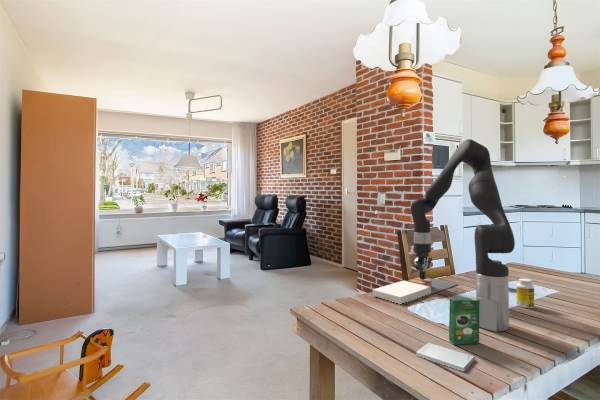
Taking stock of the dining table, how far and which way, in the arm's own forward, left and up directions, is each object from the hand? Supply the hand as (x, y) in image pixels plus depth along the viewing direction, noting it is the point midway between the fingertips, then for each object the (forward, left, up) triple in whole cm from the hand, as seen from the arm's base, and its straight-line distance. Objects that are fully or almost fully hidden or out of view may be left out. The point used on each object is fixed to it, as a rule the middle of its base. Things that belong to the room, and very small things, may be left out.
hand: (422, 279), depth 154 cm
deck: (-16, 0, -4) cm, 17 cm away
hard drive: (-54, -40, -5) cm, 67 cm away
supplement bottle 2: (+7, -39, -4) cm, 40 cm away
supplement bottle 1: (+26, -21, -4) cm, 34 cm away
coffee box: (-41, -39, -4) cm, 57 cm away
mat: (+6, 0, -4) cm, 7 cm away
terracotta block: (-1, +1, -4) cm, 4 cm away
